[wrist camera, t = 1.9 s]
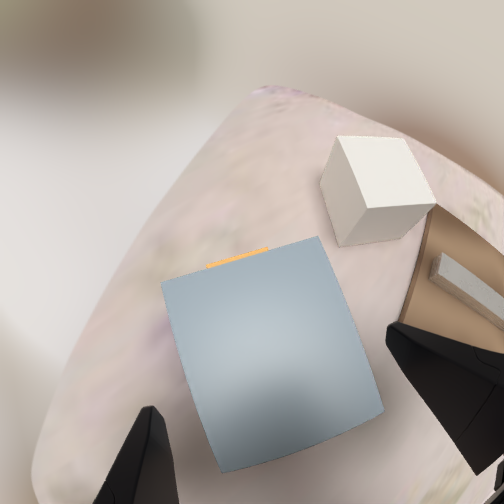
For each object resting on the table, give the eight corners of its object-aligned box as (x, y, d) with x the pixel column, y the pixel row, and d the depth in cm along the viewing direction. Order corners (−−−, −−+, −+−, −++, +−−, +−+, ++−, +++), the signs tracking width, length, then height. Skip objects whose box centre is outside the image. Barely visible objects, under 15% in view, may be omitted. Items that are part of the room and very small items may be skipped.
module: (312, 388, 17) (384, 411, 7) (233, 415, 16) (221, 473, 6) (277, 293, 19) (311, 220, 10) (201, 317, 19) (156, 265, 9)
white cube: (377, 181, 24) (403, 138, 18) (399, 239, 22) (437, 203, 16) (318, 184, 23) (336, 135, 18) (337, 248, 21) (367, 208, 15)
